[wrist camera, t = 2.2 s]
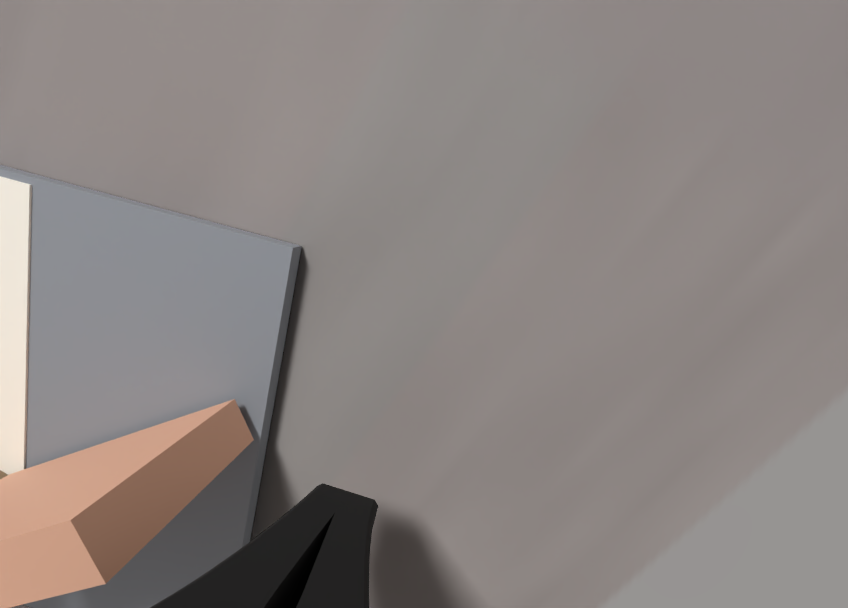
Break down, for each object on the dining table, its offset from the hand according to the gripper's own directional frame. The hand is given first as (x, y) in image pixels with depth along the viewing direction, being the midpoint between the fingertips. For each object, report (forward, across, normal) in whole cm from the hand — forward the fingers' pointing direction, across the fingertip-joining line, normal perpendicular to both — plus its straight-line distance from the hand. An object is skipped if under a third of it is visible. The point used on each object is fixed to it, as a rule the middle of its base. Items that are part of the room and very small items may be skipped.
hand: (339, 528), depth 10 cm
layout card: (+2, +11, +2) cm, 11 cm away
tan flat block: (+2, +7, +1) cm, 7 cm away
